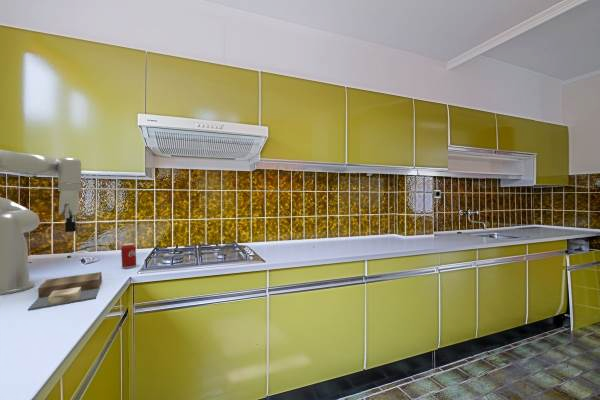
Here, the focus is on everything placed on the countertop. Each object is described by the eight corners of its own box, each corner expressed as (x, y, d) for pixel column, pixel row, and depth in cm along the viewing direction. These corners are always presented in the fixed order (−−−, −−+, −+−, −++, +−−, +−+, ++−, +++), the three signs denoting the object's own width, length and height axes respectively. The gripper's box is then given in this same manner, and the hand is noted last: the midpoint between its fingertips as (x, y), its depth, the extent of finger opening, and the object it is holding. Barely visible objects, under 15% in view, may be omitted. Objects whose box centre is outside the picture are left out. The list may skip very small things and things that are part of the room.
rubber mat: (28, 310, 92) (28, 308, 92) (37, 299, 102) (37, 298, 102) (95, 298, 101) (95, 297, 101) (98, 289, 111) (98, 288, 111)
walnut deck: (38, 298, 103) (38, 288, 102) (47, 289, 113) (46, 279, 113) (98, 289, 112) (98, 279, 112) (101, 281, 122) (101, 272, 122)
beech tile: (53, 291, 102) (53, 297, 102) (48, 297, 96) (48, 304, 96) (81, 286, 106) (81, 293, 106) (77, 292, 100) (78, 299, 100)
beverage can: (134, 268, 142) (133, 244, 142) (120, 269, 140) (119, 245, 140) (137, 265, 148) (136, 242, 148) (124, 266, 147) (123, 243, 146)
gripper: (64, 187, 122) (64, 229, 123) (52, 187, 109) (53, 234, 109) (85, 188, 126) (85, 229, 126) (76, 187, 112) (77, 233, 113)
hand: (70, 231), depth 118 cm, fingers closed
